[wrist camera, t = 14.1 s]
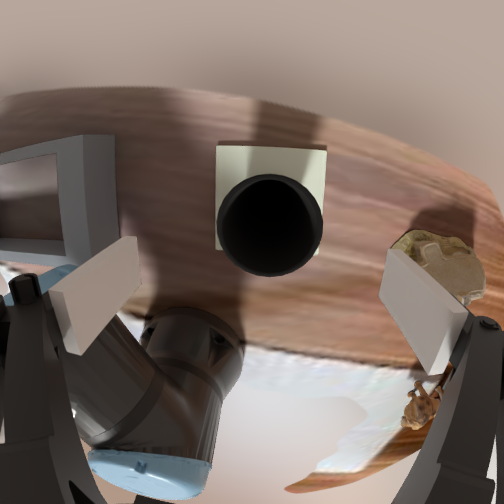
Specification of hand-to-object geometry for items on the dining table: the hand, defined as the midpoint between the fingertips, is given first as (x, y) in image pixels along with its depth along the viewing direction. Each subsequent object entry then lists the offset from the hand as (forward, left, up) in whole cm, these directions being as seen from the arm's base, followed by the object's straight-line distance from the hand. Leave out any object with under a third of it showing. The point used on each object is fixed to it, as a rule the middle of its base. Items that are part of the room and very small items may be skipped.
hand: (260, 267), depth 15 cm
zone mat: (0, 0, -19) cm, 19 cm away
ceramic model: (-7, -23, -20) cm, 31 cm away
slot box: (+1, +35, -19) cm, 40 cm away
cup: (0, 0, -19) cm, 19 cm away
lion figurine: (-31, -30, -20) cm, 48 cm away
